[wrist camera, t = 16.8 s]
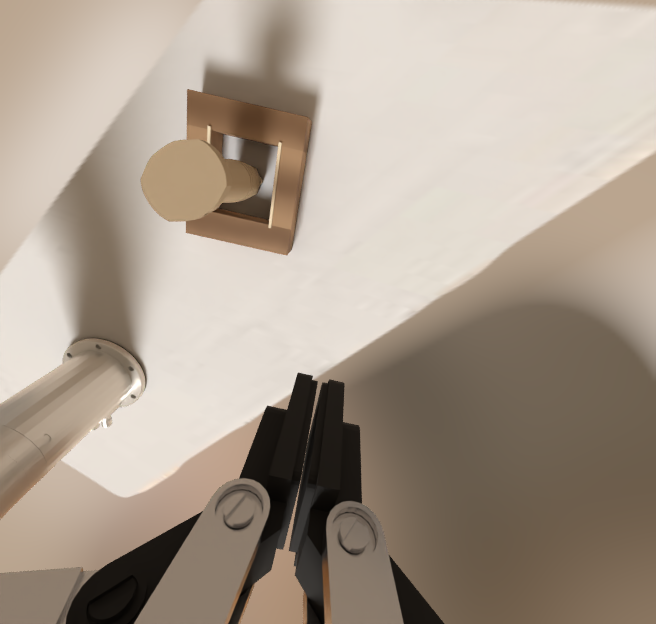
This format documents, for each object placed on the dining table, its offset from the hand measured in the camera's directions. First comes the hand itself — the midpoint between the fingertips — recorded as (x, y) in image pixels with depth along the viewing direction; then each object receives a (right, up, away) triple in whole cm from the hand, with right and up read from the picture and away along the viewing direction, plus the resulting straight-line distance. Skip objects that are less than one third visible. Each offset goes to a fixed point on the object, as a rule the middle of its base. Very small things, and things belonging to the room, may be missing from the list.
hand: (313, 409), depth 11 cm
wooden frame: (-9, +19, +24) cm, 32 cm away
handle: (-9, +19, +25) cm, 32 cm away
